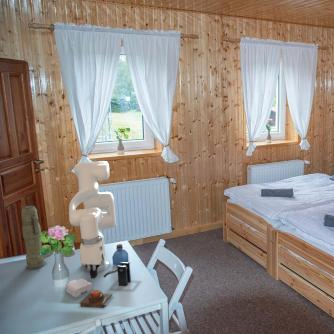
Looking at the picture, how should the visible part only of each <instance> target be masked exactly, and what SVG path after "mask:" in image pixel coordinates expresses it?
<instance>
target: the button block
mask: <svg viewBox="0 0 334 334" xmlns="http://www.w3.org/2000/svg"><path fill="white" fill-rule="evenodd" d="M99 291H100V295H99V296H97V297H92V291H91V292H90V291H89V293H87V295H86V296H85V297H83V299H82V300H81V301H80V302H79V306H80V307H81V308H93V309H104V308H105V306H106V303H107V302H108V300H110V298H111V297H113V296H112V295H113V294H112V293H109V292H108V293H107V292H104V291H102V290H99Z"/></svg>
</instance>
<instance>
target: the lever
mask: <svg viewBox="0 0 334 334" xmlns="http://www.w3.org/2000/svg"><path fill="white" fill-rule="evenodd" d="M121 266H126V269H127V268H128V267H127V265H126V264H124V265H121ZM114 273H118V272H117V268H116V269H115V268H114V269H113V270H108V271H106V272H105V273H104V275H103V278H106V277H107V276H109V275H112V274H114Z"/></svg>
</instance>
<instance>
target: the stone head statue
mask: <svg viewBox="0 0 334 334" xmlns="http://www.w3.org/2000/svg"><path fill="white" fill-rule="evenodd" d="M20 215H21V221H22V228H21V230H22V237H23V239H24V245H25V252H26V254H25V260H26V264H27V269H29V270H35V269H39V268H41V267H44V266H45V264H46V263H45V257H44V258H43V257H42V256H41V255H40V249H41V247H42V248H43V244H42V240H41V241H40V240H39V235H40V234H41V235H42V230H41V225H40V222H39V217H38V216H39V215H38V209H37V208H36V206H35V205H31V204H30V205H25V206H23V207H22V209H21V214H20Z"/></svg>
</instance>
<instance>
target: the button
mask: <svg viewBox="0 0 334 334" xmlns="http://www.w3.org/2000/svg"><path fill="white" fill-rule="evenodd" d="M100 291H101V290H99V289H93V290H91V293H92V297H97V296H99V295H100Z"/></svg>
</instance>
